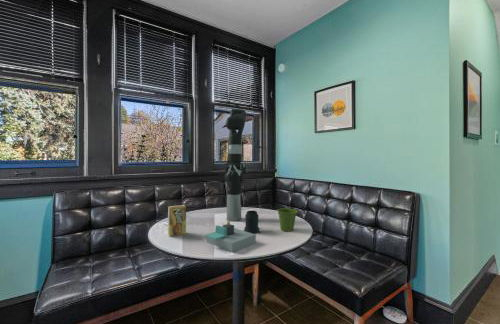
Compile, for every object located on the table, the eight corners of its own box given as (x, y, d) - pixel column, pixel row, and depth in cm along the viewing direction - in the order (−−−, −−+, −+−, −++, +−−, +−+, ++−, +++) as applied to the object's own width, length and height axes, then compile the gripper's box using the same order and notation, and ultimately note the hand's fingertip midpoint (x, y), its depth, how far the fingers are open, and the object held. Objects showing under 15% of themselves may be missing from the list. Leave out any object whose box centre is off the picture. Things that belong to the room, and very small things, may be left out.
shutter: (217, 233, 112) (217, 225, 112) (227, 236, 107) (227, 228, 107) (205, 236, 107) (205, 228, 107) (215, 240, 102) (215, 231, 102)
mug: (259, 234, 124) (259, 213, 124) (242, 233, 125) (242, 213, 125) (260, 227, 136) (260, 209, 135) (245, 227, 137) (245, 208, 137)
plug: (228, 239, 115) (228, 219, 115) (233, 241, 113) (234, 221, 113) (222, 241, 113) (222, 221, 112) (227, 243, 110) (227, 223, 110)
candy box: (184, 232, 127) (184, 204, 127) (186, 234, 123) (186, 206, 123) (167, 234, 122) (167, 206, 122) (169, 236, 119) (169, 207, 118)
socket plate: (230, 234, 123) (230, 226, 123) (255, 242, 111) (255, 234, 111) (206, 242, 112) (206, 234, 111) (231, 252, 99) (231, 243, 99)
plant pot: (296, 234, 124) (296, 213, 124) (274, 231, 128) (275, 211, 128) (298, 227, 136) (298, 209, 135) (279, 225, 139) (279, 207, 139)
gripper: (221, 153, 128) (221, 181, 129) (239, 152, 119) (239, 183, 119) (231, 153, 134) (231, 180, 134) (249, 153, 124) (248, 182, 125)
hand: (235, 182), depth 127 cm, fingers open, 8 cm apart
